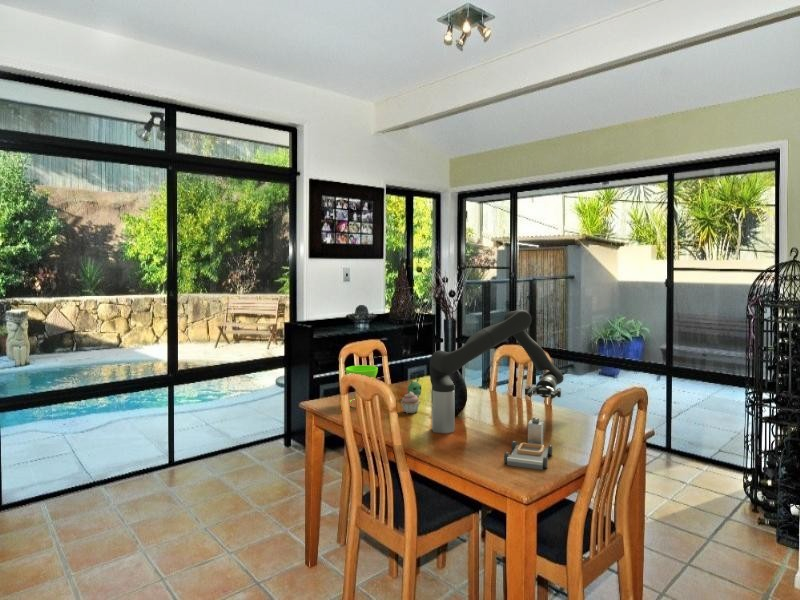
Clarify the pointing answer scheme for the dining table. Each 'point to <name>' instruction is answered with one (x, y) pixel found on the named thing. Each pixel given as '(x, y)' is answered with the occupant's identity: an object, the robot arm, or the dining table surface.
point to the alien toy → (414, 388)
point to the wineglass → (363, 371)
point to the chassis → (528, 455)
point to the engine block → (535, 431)
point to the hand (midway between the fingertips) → (540, 395)
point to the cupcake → (410, 403)
